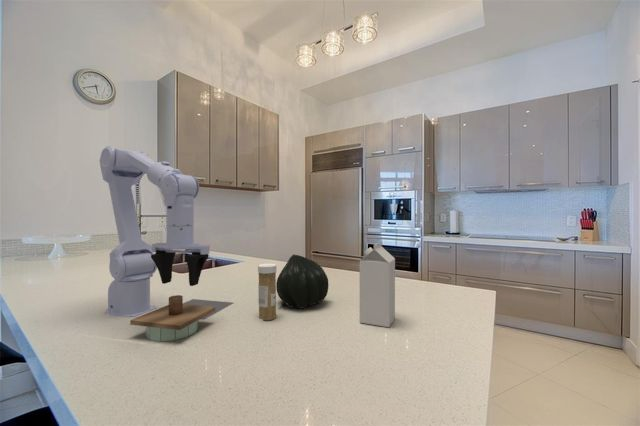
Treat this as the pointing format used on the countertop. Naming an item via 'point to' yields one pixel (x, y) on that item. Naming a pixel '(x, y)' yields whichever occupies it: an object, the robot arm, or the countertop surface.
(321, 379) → the countertop surface
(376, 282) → the milk carton
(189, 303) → the mat
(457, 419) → the countertop surface
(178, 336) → the bowl
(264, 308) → the sprinkles bottle
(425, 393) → the countertop surface
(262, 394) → the countertop surface
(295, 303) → the squash
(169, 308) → the lid
